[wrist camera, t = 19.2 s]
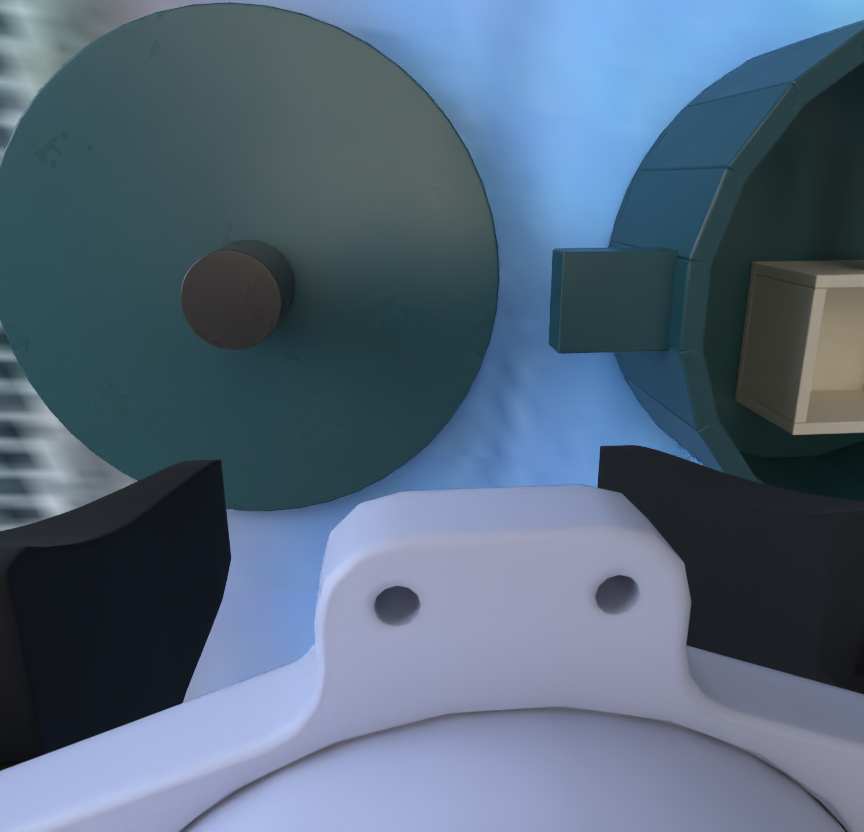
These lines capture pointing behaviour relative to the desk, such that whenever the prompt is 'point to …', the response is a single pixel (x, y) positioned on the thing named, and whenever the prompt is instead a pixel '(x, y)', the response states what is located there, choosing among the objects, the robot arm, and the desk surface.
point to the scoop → (805, 346)
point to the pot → (728, 255)
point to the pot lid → (245, 253)
